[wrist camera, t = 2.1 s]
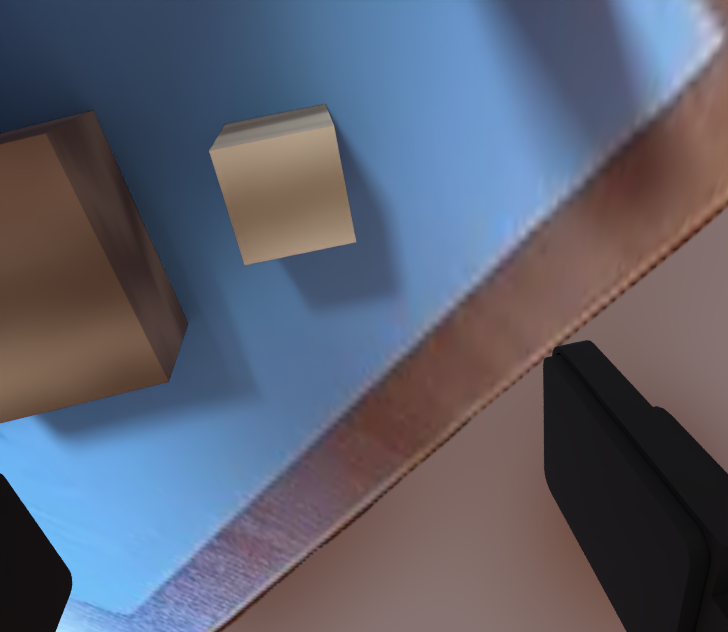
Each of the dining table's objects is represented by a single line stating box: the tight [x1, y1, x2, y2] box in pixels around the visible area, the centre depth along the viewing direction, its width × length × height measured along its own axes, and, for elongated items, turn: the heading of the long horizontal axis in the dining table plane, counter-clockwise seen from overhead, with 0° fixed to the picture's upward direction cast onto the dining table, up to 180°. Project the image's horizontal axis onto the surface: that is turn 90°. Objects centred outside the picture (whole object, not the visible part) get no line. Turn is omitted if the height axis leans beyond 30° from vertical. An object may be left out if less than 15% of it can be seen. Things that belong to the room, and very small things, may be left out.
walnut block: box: [0, 110, 188, 423], centre depth 26 cm, size 12×12×6 cm
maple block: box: [209, 104, 356, 265], centre depth 25 cm, size 5×5×6 cm
